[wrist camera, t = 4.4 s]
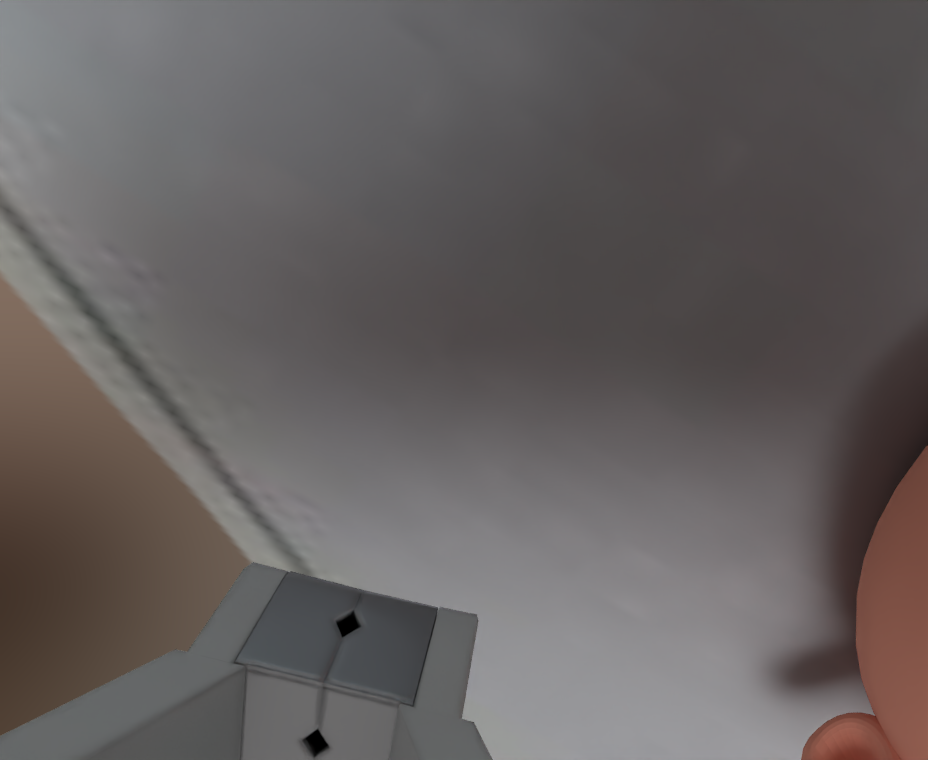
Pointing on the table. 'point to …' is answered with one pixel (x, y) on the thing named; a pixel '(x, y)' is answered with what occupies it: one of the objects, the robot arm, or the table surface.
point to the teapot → (890, 637)
